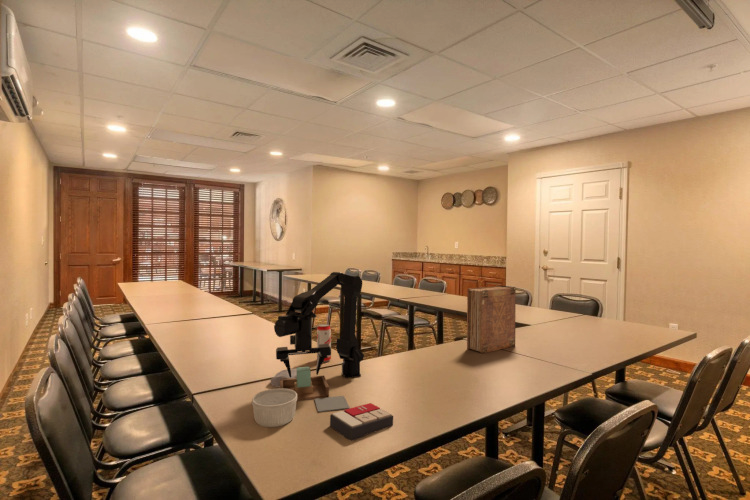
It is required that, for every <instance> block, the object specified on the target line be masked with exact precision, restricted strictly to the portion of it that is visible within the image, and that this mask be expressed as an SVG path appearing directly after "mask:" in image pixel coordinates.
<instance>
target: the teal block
mask: <svg viewBox="0 0 750 500" xmlns="http://www.w3.org/2000/svg"><path fill="white" fill-rule="evenodd" d="M296 369H297V387H298V388H299V387H309V386H311V377H312V374H311V373H312V372H311V367H310V366H303V367H301V366H300V367H296Z"/></svg>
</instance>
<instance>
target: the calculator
mask: <svg viewBox="0 0 750 500" xmlns="http://www.w3.org/2000/svg"><path fill="white" fill-rule="evenodd" d="M329 417H330V418H329V420H330V421H329V427H330V428H332V429H333V431H335V432H337V433H338V434H340V435H341V436H342V437H345V439H347V440H348V441H349V442H352V441H356V440H358V439H360V438H363V437H365V436H367V435H369V434H372V433H376V432H379V431H382V430H384V429H387V428H389V427H392V426H394V415H393V414H392V413H391V412H389V411H387V410H384V409H382V408H381V407H379V406H377V405H375V404H374V403H370V402H369V403H365V404H362V405H358V406H357V405H356V406H353V407H350V408H349V409H344V410H339V411H336V412H333V413H331V414H330V415H329Z"/></svg>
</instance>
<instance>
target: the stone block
mask: <svg viewBox="0 0 750 500" xmlns="http://www.w3.org/2000/svg"><path fill="white" fill-rule="evenodd" d="M290 369H291V377H290V376H289V373H288V370H287V369H282V370H280V371H279V372H277V373H276V374H275V376H273V377H271V378H270V384H271V386H272V387H277V388H280V380H281V379H292V378H297V368H290Z"/></svg>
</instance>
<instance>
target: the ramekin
mask: <svg viewBox="0 0 750 500" xmlns="http://www.w3.org/2000/svg"><path fill="white" fill-rule="evenodd" d="M297 402H298V401H297V393H296V392H295V391H293V390H290V389H284V388H280V387H277V388H270V389H266V390H265V389H264V390H262V391H259V392H258V393H256V394H254V395H253V397H252V398H251V406H252V408H253V418H254V420H255V422H256V424H258V425H259V426H261V427H264V428H265V427H266V428H278V427H281V426H285V425H287V424H289V423H290V422H291V421H292V420H293V419H294V417H295V416H296V408H297Z"/></svg>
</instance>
